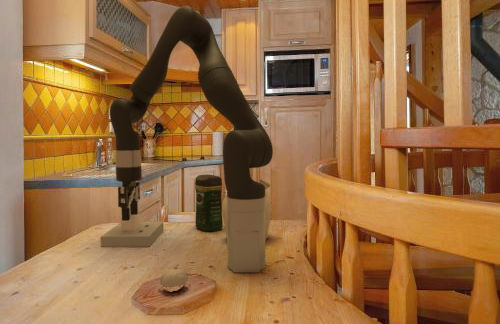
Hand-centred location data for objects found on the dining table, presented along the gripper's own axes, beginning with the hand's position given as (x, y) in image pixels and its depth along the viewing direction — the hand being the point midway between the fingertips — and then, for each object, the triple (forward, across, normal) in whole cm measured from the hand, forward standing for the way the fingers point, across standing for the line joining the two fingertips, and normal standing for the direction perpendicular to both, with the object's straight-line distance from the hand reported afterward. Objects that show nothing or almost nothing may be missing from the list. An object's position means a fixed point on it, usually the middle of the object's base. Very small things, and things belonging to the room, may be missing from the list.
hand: (130, 217), depth 120 cm
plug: (+6, 0, 0) cm, 6 cm away
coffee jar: (+7, +12, -23) cm, 27 cm away
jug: (+7, -1, -36) cm, 37 cm away
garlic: (+7, -40, -21) cm, 45 cm away
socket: (+7, 0, -1) cm, 7 cm away
